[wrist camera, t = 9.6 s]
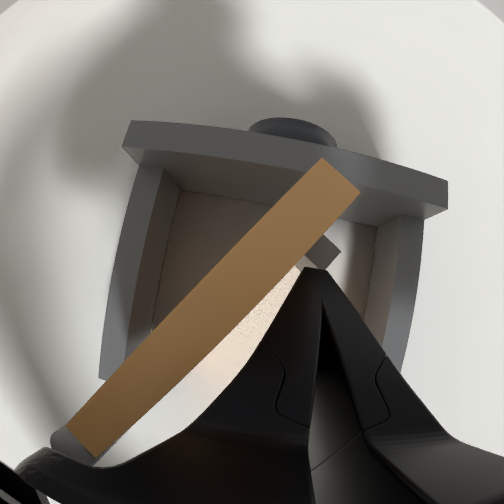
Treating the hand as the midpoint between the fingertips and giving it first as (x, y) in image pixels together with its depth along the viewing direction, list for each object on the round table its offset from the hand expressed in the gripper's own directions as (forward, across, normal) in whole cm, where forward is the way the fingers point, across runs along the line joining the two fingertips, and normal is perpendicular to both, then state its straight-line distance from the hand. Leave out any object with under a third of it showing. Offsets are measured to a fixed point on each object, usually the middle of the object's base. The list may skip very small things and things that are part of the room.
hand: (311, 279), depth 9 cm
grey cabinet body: (+5, +1, +4) cm, 6 cm away
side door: (+3, +2, +6) cm, 7 cm away
